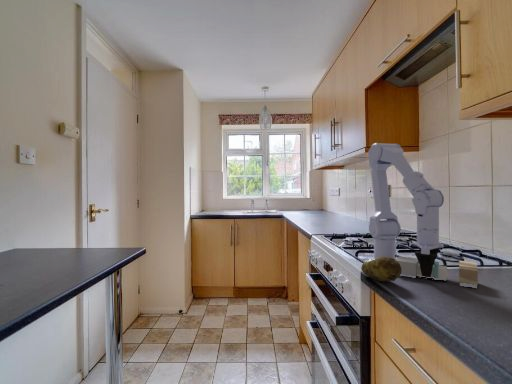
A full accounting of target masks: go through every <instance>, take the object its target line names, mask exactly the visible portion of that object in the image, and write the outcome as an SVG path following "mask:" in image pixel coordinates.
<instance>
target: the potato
mask: <svg viewBox="0 0 512 384" xmlns="http://www.w3.org/2000/svg"><path fill="white" fill-rule="evenodd" d="M371 260H372V259H371ZM371 260H368V261H364V262H363V263H362V264H361V266H360V267H361V271H362V273H363V274H364V275H365V276H366V277H368V278H372V279H373V278H374V279H373V280H376V281H379V280H380V281H379V282H384V281H387V282H395V281H396V280H397V279H398V278H399V277H401V276H400V274H401V273H402V272H401V271H402V270H401V266H400V264H399V263H398V262H397V261H396V260H395V259H393V258H390V257H389V258H388V257H379V258H377V259H375V260H372V261H371Z"/></svg>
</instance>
